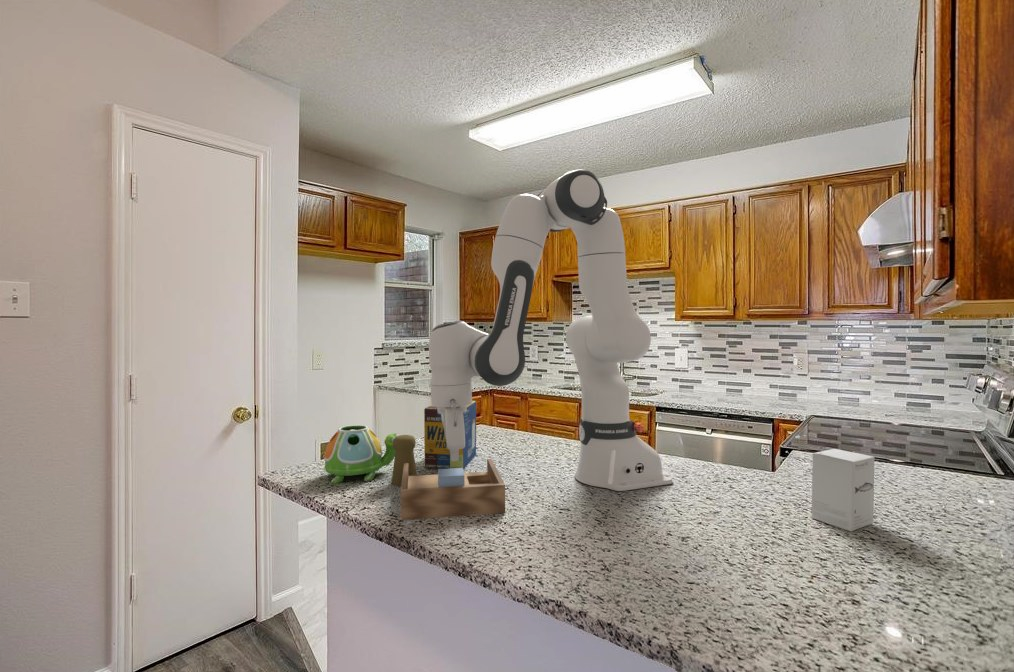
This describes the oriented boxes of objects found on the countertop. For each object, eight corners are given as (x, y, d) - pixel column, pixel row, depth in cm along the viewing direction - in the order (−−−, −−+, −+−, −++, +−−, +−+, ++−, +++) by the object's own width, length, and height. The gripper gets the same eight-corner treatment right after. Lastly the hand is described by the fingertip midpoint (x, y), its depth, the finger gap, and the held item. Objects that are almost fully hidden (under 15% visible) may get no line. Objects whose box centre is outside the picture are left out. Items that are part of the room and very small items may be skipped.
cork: (420, 478, 118) (420, 433, 117) (413, 487, 112) (413, 439, 111) (396, 478, 118) (395, 432, 118) (387, 486, 112) (387, 438, 112)
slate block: (462, 492, 101) (462, 467, 101) (464, 500, 96) (464, 475, 96) (438, 493, 100) (438, 469, 100) (438, 502, 95) (438, 476, 95)
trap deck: (491, 482, 115) (491, 458, 115) (505, 512, 96) (505, 484, 96) (404, 487, 111) (403, 463, 111) (400, 520, 93) (400, 491, 93)
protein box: (423, 468, 126) (423, 408, 126) (441, 453, 141) (441, 399, 141) (463, 470, 124) (463, 409, 124) (477, 454, 139) (476, 400, 139)
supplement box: (852, 532, 86) (853, 461, 86) (810, 518, 93) (810, 452, 93) (875, 524, 90) (876, 456, 90) (832, 511, 96) (833, 447, 96)
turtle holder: (405, 477, 119) (404, 428, 118) (325, 487, 112) (325, 435, 112) (396, 464, 130) (395, 419, 130) (323, 472, 123) (322, 424, 123)
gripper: (470, 403, 97) (473, 472, 97) (462, 388, 117) (465, 446, 117) (438, 405, 96) (441, 475, 96) (435, 390, 116) (438, 448, 116)
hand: (454, 459), depth 107 cm, fingers closed
